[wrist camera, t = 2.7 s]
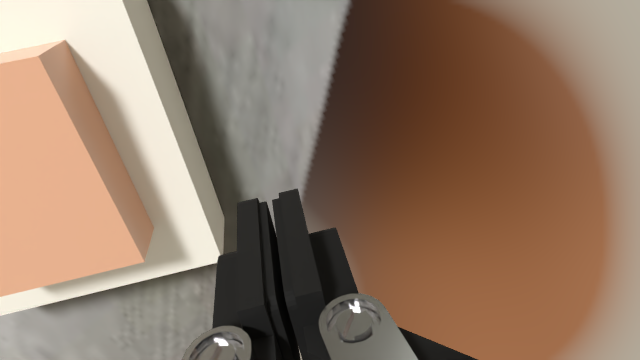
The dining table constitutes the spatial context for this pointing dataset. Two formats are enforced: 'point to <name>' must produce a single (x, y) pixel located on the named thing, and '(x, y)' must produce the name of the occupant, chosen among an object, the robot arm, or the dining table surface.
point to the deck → (128, 133)
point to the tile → (60, 177)
